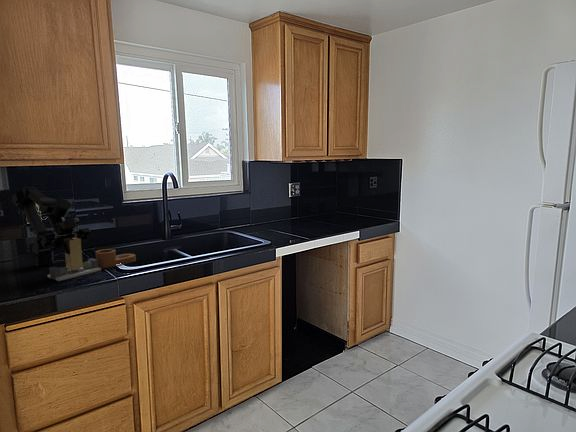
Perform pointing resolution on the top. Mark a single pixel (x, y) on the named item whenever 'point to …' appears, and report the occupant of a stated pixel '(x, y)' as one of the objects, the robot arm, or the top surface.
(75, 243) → the gold tall square block
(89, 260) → the plate with raised blocks
